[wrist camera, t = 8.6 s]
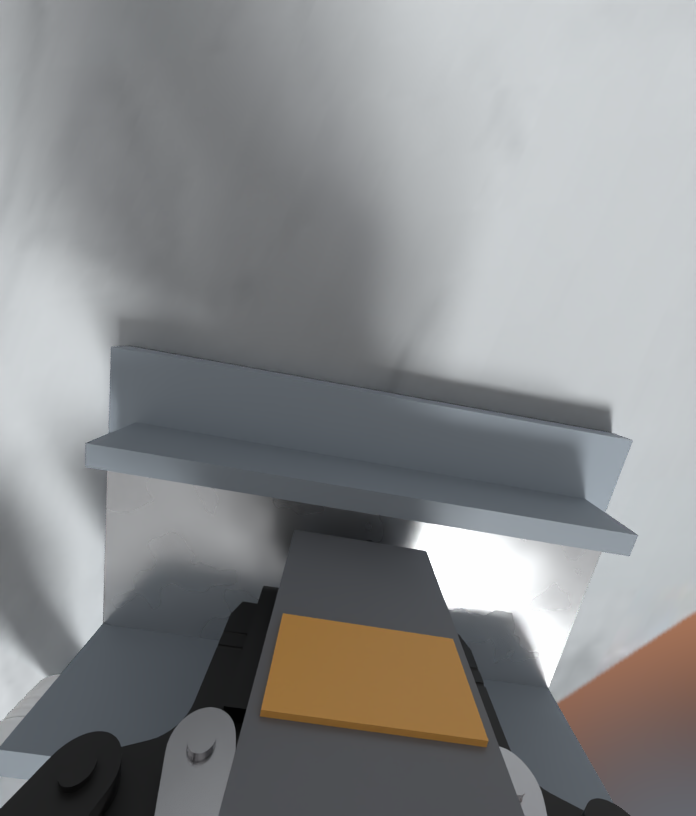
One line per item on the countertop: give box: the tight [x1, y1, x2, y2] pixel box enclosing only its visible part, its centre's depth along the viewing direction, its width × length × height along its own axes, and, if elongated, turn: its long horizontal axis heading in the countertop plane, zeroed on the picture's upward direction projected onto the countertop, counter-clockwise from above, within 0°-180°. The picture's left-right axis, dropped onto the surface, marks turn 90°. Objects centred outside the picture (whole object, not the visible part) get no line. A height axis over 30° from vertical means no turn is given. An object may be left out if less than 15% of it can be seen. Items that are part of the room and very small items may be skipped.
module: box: [218, 529, 525, 816], centre depth 8 cm, size 5×4×7 cm
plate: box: [103, 471, 601, 688], centre depth 13 cm, size 7×18×2 cm, turn 80°
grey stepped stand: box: [0, 346, 638, 810], centre depth 12 cm, size 12×20×6 cm, turn 80°
